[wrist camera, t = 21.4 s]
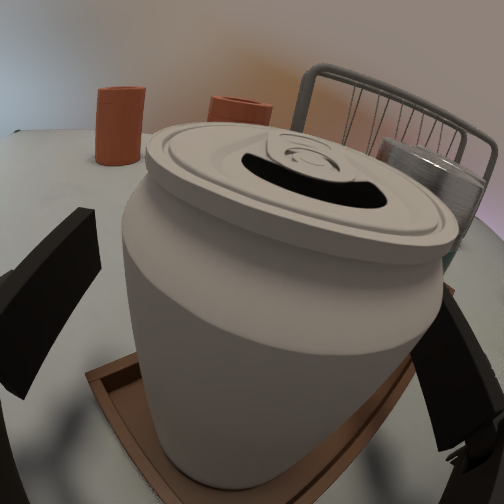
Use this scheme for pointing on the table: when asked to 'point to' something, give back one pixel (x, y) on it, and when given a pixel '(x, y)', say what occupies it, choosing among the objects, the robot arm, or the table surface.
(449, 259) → the tray can
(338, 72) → the newton's cradle
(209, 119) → the jar
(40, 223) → the table surface
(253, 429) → the beverage can
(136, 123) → the jar
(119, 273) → the table surface
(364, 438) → the can tray
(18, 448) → the table surface
